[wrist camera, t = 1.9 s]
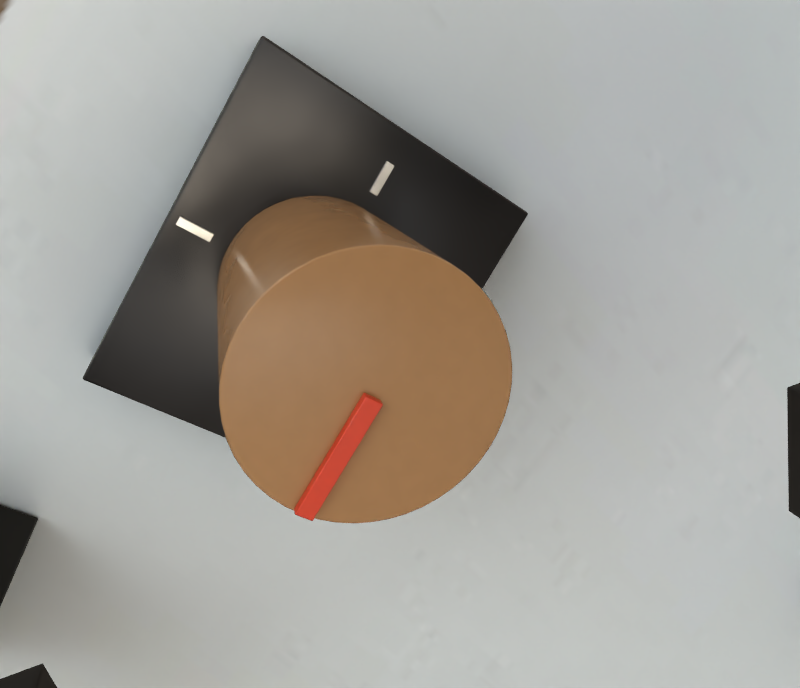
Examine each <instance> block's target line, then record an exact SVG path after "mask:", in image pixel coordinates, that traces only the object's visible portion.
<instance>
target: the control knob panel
mask: <svg viewBox="0 0 800 688" xmlns="http://www.w3.org/2000/svg"><path fill="white" fill-rule="evenodd" d="M302 196H329V197H334V198H339V199H343V200H345V201H348V202H351V203H354V204H356V205H358V206H360V207H362V208H364V209H365V210H367V211H369V212H370V213H372V214H373V215H375V216H376V217H378V218H380V219H381V220H383V221H384V222H386V223H388V224H389V225H391V226H392V227H394V228H396V229H397V230H399V231H400V232H402V233H403V234H405V235H407V236H408V237H410V238H411V239H413V240H415V241H416V242H418V243H419V244H421V245H423V246H424V247H426V248H427V249H429V250H430V251H432V252H434V253H435V254H437V255H438V256H440V257H442V258H443V259H445V260H446V261H448V262H450V263H451V264H453V265H454V266H455V267H457V268H458V269H460V270H461V271H463V272H464V273H465V274H467V275H468V276H469V277H470V278H471V279H472V280H473V281H474V282H475V283H476V284H477V285H478V286H480V288H481V289H482V288H483V286H484V285H485V283H486V281H487V280H488V278H489V277H490V275H491V273H492V272H493V270H494V268H495V267H496V265H497V264H498V262H499V260H500V259H501V257H502V255H503V254H504V252H505V251H506V249H507V247H508V246H509V244H510V242H511V241H512V239H513V238H514V236H515V234H516V233H517V231H518V229H519V228H520V226H521V224H522V223H523V221H524V220H525V218H526V216H527V215H528V213H527V212H526V211H524V210H523V209H521V208H520V207H518V206H517V205H515V204H514V203H512V202H511V201H509V200H508V199H506V198H505V197H503V196H502V195H500V194H499V193H497V192H496V191H495V190H493V189H492V188H490V187H489V186H487V185H486V184H484V183H483V182H481V181H480V180H478V179H477V178H475V177H474V176H472V175H471V174H469V173H468V172H466V171H465V170H463V169H462V168H460V167H459V166H457V165H456V164H454V163H453V162H451V161H450V160H448V159H447V158H445V157H444V156H442V155H441V154H439V153H438V152H436V151H435V150H433V149H432V148H430V147H429V146H427V145H426V144H424V143H423V142H421V141H420V140H418V139H417V138H415V137H414V136H412V135H411V134H409V133H408V132H406V131H405V130H403V129H402V128H400V127H399V126H397V125H396V124H394V123H393V122H391V121H390V120H388V119H387V118H385V117H384V116H382V115H381V114H379V113H378V112H376V111H375V110H373V109H372V108H370V107H369V106H367V105H366V104H364V103H363V102H361V101H360V100H358V99H357V98H356V97H354V96H353V95H351V94H350V93H348V92H347V91H345V90H344V89H342V88H341V87H339V86H338V85H336V84H335V83H333V82H332V81H330V80H329V79H327V78H326V77H324V76H323V75H321V74H320V73H318V72H317V71H315V70H314V69H312V68H311V67H309V66H308V65H306V64H305V63H303V62H302V61H300V60H299V59H297V58H296V57H294V56H293V55H291V54H290V53H288V52H287V51H285V50H284V49H282V48H281V47H279V46H278V45H276V44H275V43H273V42H272V41H270V40H269V39H267V38H266V37H264V36H262V37H261V38H260V40H259V41H258V43H257V45H256V47H255V48H254V50H253V52H252V54H251V56H250V58H249V60H248V62H247V64H246V66H245V68H244V69H243V71H242V73H241V75H240V77H239V79H238V81H237V83H236V85H235V87H234V89H233V91H232V92H231V94H230V96H229V98H228V100H227V102H226V104H225V106H224V108H223V110H222V112H221V113H220V115H219V117H218V119H217V121H216V123H215V125H214V127H213V129H212V131H211V133H210V134H209V136H208V138H207V140H206V142H205V144H204V146H203V148H202V150H201V152H200V154H199V156H198V157H197V159H196V161H195V163H194V165H193V167H192V169H191V171H190V173H189V175H188V177H187V178H186V180H185V182H184V184H183V186H182V188H181V190H180V192H179V194H178V196H177V198H176V200H175V201H174V203H173V205H172V207H171V209H170V211H169V213H168V215H167V217H166V219H165V221H164V222H163V224H162V226H161V228H160V230H159V232H158V234H157V236H156V238H155V240H154V242H153V243H152V245H151V247H150V249H149V251H148V253H147V255H146V257H145V259H144V261H143V263H142V265H141V266H140V268H139V270H138V272H137V274H136V276H135V278H134V280H133V282H132V284H131V286H130V287H129V289H128V291H127V293H126V295H125V297H124V299H123V301H122V303H121V305H120V307H119V309H118V310H117V312H116V314H115V316H114V318H113V320H112V322H111V324H110V326H109V328H108V330H107V331H106V333H105V335H104V337H103V339H102V341H101V343H100V345H99V347H98V349H97V351H96V352H95V354H94V356H93V358H92V360H91V362H90V364H89V366H88V368H87V370H86V372H85V374H84V376H83V379H84V380H86V381H88V382H91V383H93V384H96V385H98V386H101V387H103V388H106V389H108V390H110V391H113V392H115V393H118V394H120V395H123V396H125V397H128V398H130V399H132V400H135V401H137V402H140V403H142V404H145V405H147V406H150V407H152V408H154V409H157V410H159V411H162V412H164V413H167V414H169V415H172V416H174V417H176V418H179V419H181V420H184V421H186V422H189V423H191V424H194V425H196V426H198V427H201V428H203V429H206V430H208V431H211V432H213V433H216V434H218V435H221V436H223V437H225V438H226V436H225V433H224V429H223V426H222V422H221V414H220V407H219V372H218V320H217V282H218V275H219V270H220V267H221V263H222V260H223V257H224V255H225V253H226V251H227V249H228V247H229V245H230V243H231V242H232V240H233V239H234V237H235V236H236V234H237V233H238V232H239V231H240V230H241V229H242V227H243V226H244V225H245V224H246V223H247V222H249V221H250V220H251V219H252V218H253V217H254V216H256V215H257V214H259V213H260V212H262V211H263V210H264V209H266V208H268V207H270V206H272V205H274V204H276V203H279V202H282V201H285V200H288V199H292V198H297V197H302Z"/></svg>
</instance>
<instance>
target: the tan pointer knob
mask: <svg viewBox="0 0 800 688" xmlns="http://www.w3.org/2000/svg"><path fill="white" fill-rule="evenodd" d="M217 320H218V372H219V407H220V414H221V422H222V426H223V429H224V433H225V436H226V439H227V442H228V444H229V446H230V449H231V451H232V453H233V455H234V457H235V459H236V460H237V462H238V463H239V465H240V466H241V468H242V469H243V471H244V472H245V473H246V475H247V476H248V477H249V478H250V479H251V480H252V481H253V482H254V484H255V485H256V486H257V487H259V488H260V489H261V490H262V491H263V492H264V493H266V494H267V495H268V496H269V497H271V498H272V499H274V500H275V501H277V502H279V503H280V504H282V505H283V506H285V507H287V508H289V509H291V510H294V511H295V514H296V515H298V516H300V517H303V518H306V519H308V520H311V521H313V519H314V518H316V519H320V520H326V521H331V522H341V523H364V522H374V521H380V520H385V519H390V518H394V517H397V516H400V515H404V514H407V513H409V512H412V511H414V510H416V509H419V508H421V507H423V506H425V505H427V504H429V503H430V502H432V501H434V500H436V499H438V498H439V497H441V496H442V495H444V494H445V493H446V492H448V491H449V490H451V489H452V488H453V487H454V486H456V485H457V484H458V483H459V482H460V481H461V480H462V479H464V478H465V477H466V476H467V475H468V474H469V473H470V472H471V470H472V469H473V468H474V467H475V466H476V465H477V464H478V463H479V461H480V460H481V459H482V457H483V456H484V454H485V453H486V452H487V450H488V449H489V447H490V446H491V444H492V442H493V440H494V438H495V437H496V435H497V433H498V431H499V428H500V426H501V424H502V421H503V419H504V416H505V413H506V409H507V406H508V402H509V397H510V391H511V384H512V361H511V351H510V346H509V342H508V338H507V334H506V330H505V328H504V326H503V323H502V321H501V318H500V316H499V314H498V312H497V310H496V309H495V307H494V305H493V304H492V302H491V300H490V299H489V298H488V296H487V295H486V294H485V293H484V291H483V290H482V289H481V288H480V286H478V285H477V284H476V283H475V282H474V281H473V280H472V279H471V278H470V277H469V276H468V275H467V274H465V273H464V272H463V271H461V270H460V269H458V268H457V267H455V266H454V265H453V264H451V263H450V262H448V261H446V260H445V259H443V258H442V257H440V256H438V255H437V254H435V253H434V252H432V251H430V250H429V249H427V248H426V247H424V246H423V245H421V244H419V243H418V242H416V241H415V240H413V239H411V238H410V237H408V236H407V235H405V234H403V233H402V232H400V231H399V230H397V229H396V228H394V227H392V226H391V225H389V224H388V223H386V222H384V221H383V220H381V219H380V218H378V217H376V216H375V215H373V214H372V213H370V212H369V211H367V210H365V209H364V208H362V207H360V206H358V205H356V204H354V203H351V202H348V201H345V200H343V199H339V198H334V197H329V196H302V197H297V198H292V199H288V200H285V201H282V202H279V203H276V204H274V205H272V206H270V207H268V208H266V209H264V210H263V211H262V212H260V213H259V214H257V215H256V216H254V217H253V218H252V219H251V220H250V221H249V222H247V223H246V224H245V225H244V226H243V227H242V229H241V230H240V231H239V232H238V233H237V234H236V236H235V237H234V239H233V240H232V242H231V243H230V245H229V247H228V249H227V251H226V253H225V255H224V257H223V260H222V263H221V267H220V270H219V275H218V282H217Z"/></svg>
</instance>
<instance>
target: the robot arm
mask: <svg viewBox="0 0 800 688" xmlns="http://www.w3.org/2000/svg"><path fill="white" fill-rule="evenodd" d="M787 397H788V476H789V511H790V512H792V513H793V514H794V515H796V516H797V517H799V518H800V383H798V384H796V385H793V386H790V387H788V388H787ZM0 688H57V687H56V685H55V684H54V682H53V680H52V678H51V677H50V675H49V673H48V672H47V670H46V668H45V667H44V665H43V664H40V665H37V666H35V667H32V668H29V669H26V670H24V671H21V672H18V673H16V674H13V675H10V676H8V677H5V678H2V679H0Z"/></svg>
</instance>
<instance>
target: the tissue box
mask: <svg viewBox="0 0 800 688" xmlns="http://www.w3.org/2000/svg"><path fill="white" fill-rule="evenodd" d="M37 521H38V519H37V518H35V517H32V516H29V515H26V514H23V513H21V512H19V511H16V510H13V509H10V508H7V507H4V506H1V505H0V606H1V604H2V601H3V599H4V597H5V594H6V592H7V590H8V588H9V585H10V583H11V581H12V578H13V576H14V574H15V571H16V569H17V567H18V564H19V562H20V560H21V557H22V555H23V553H24V551H25V548H26V546H27V544H28V541H29V539H30V537H31V534H32V532H33V530H34V527H35V525H36V523H37Z"/></svg>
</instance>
